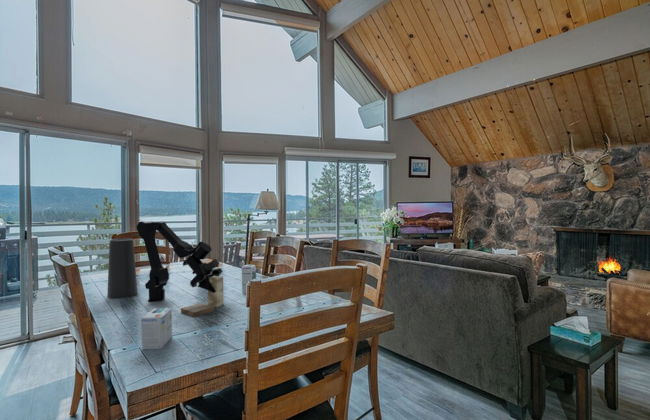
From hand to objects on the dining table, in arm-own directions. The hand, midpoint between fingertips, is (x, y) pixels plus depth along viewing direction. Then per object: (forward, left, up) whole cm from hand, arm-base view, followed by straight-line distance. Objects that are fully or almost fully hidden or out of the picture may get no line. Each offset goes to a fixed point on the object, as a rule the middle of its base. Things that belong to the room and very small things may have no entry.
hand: (218, 290), depth 169 cm
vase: (-49, +32, -7) cm, 59 cm away
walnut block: (-8, -8, -7) cm, 14 cm away
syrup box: (+15, +20, -7) cm, 26 cm away
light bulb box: (-18, -41, -7) cm, 46 cm away
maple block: (-1, +1, -7) cm, 7 cm away
